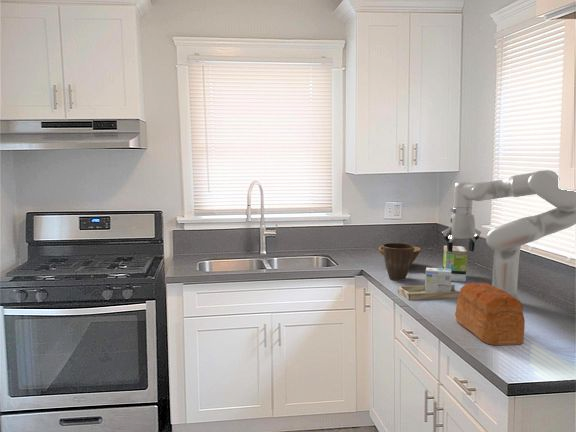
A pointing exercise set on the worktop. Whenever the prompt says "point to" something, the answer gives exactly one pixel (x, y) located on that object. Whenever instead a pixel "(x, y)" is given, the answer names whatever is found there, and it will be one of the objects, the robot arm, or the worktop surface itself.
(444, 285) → the light bulb box
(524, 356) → the worktop surface
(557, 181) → the robot arm
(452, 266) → the tea box
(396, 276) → the plant pot
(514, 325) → the bread
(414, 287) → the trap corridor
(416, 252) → the bowl
